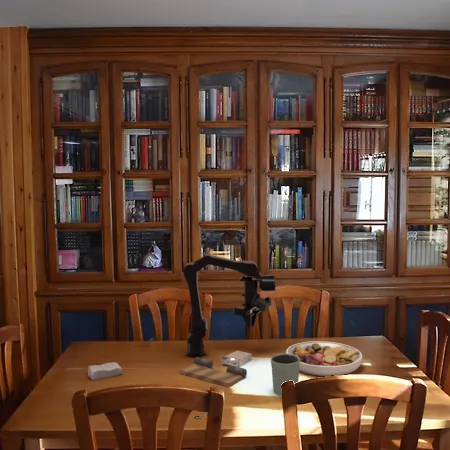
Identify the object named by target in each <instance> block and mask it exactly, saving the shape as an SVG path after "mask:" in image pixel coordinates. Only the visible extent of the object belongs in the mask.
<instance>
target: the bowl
mask: <svg viewBox="0 0 450 450" xmlns="http://www.w3.org/2000/svg"><path fill="white" fill-rule="evenodd" d="M285 354H292V355H296V356H298V357H299V358H300V364H299V372H302V373H305V374H308V375H312V376H320V377H332V376H331V375H339V376H344V374H345V375H347V374H351V373H353V372H355V371H356V370H358V369H359V367H360V366H361V365H362V362H363V354H362V352H361V351H360V350H358V349H357V348H356V347H353V346H350V345H348V344H344V343H340V342H333V341H325V340H324V341H323V340H319V341H317V340H315V341H314V340H312V341H303V342H298V343H295V344H292V345H290V346H289V347H287V348H286V351H285Z"/></svg>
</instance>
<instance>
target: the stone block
mask: <svg viewBox="0 0 450 450" xmlns="http://www.w3.org/2000/svg"><path fill="white" fill-rule="evenodd" d="M121 375H122V367H121V366H120V365H119V363H118V362H114V361H113V362H106V363H102V364H101V365H99V364H97V365H95V364H93V365H88V369H87V376H88V377H89V379H91V381H97V380H102V379H107V378H112V377H117V376H121Z"/></svg>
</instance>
